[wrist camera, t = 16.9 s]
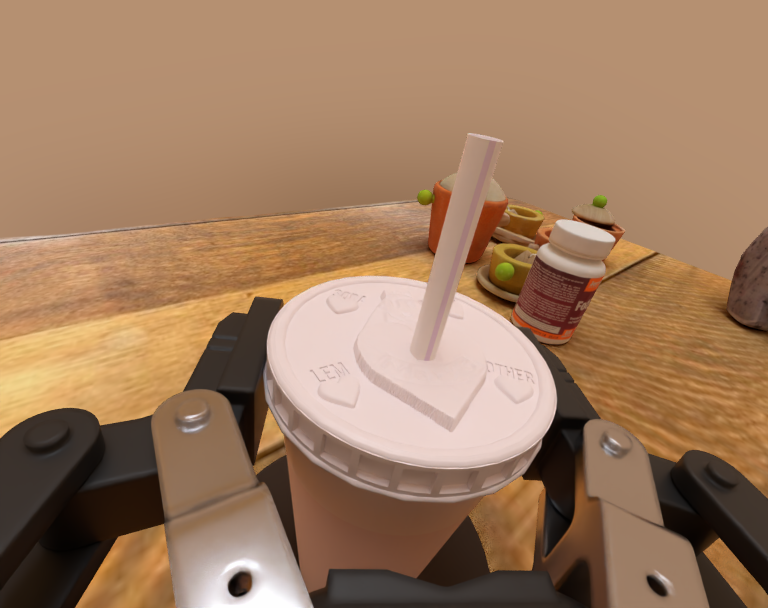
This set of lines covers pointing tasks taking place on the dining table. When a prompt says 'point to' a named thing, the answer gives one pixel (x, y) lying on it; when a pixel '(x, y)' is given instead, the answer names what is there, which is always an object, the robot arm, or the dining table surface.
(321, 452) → the smoothie
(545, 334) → the pill bottle
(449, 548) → the coaster
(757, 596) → the dining table surface
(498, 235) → the toy tea set
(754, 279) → the sculpture
